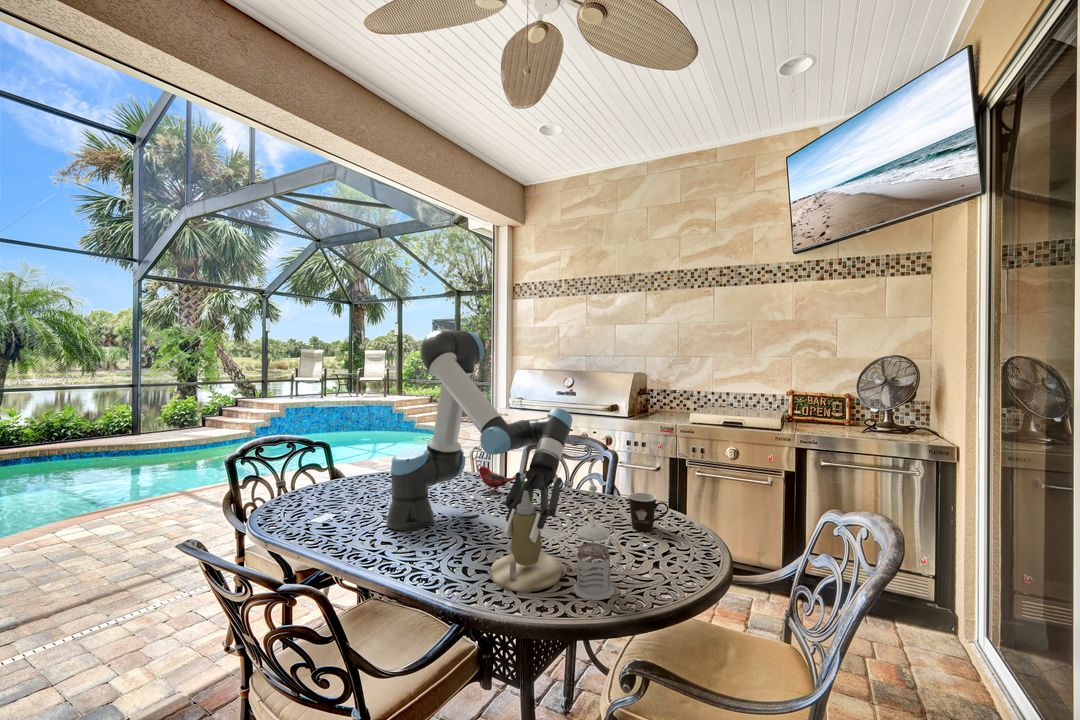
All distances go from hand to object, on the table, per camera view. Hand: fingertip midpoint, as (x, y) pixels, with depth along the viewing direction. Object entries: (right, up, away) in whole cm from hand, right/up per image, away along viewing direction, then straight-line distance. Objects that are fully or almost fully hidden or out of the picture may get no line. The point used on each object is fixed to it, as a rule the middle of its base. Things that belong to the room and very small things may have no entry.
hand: (519, 537), depth 117 cm
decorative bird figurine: (-12, -9, +72) cm, 74 cm away
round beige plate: (+2, -10, +3) cm, 11 cm away
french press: (+19, -11, -5) cm, 22 cm away
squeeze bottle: (+2, -8, +3) cm, 8 cm away
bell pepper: (-1, -9, +55) cm, 56 cm away
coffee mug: (+39, -10, +32) cm, 51 cm away
